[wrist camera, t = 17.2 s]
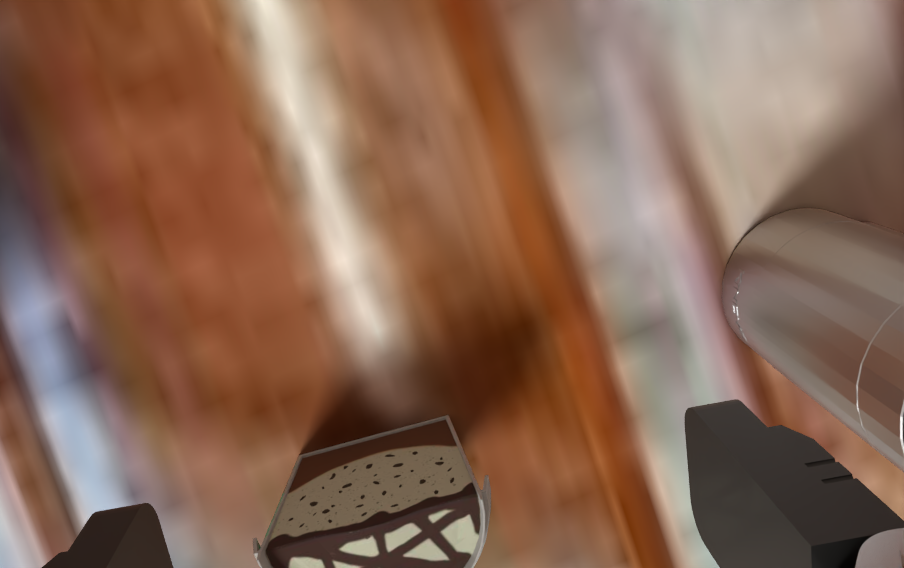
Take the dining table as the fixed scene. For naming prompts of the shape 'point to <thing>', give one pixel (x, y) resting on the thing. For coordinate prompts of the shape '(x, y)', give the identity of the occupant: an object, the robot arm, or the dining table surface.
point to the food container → (381, 505)
